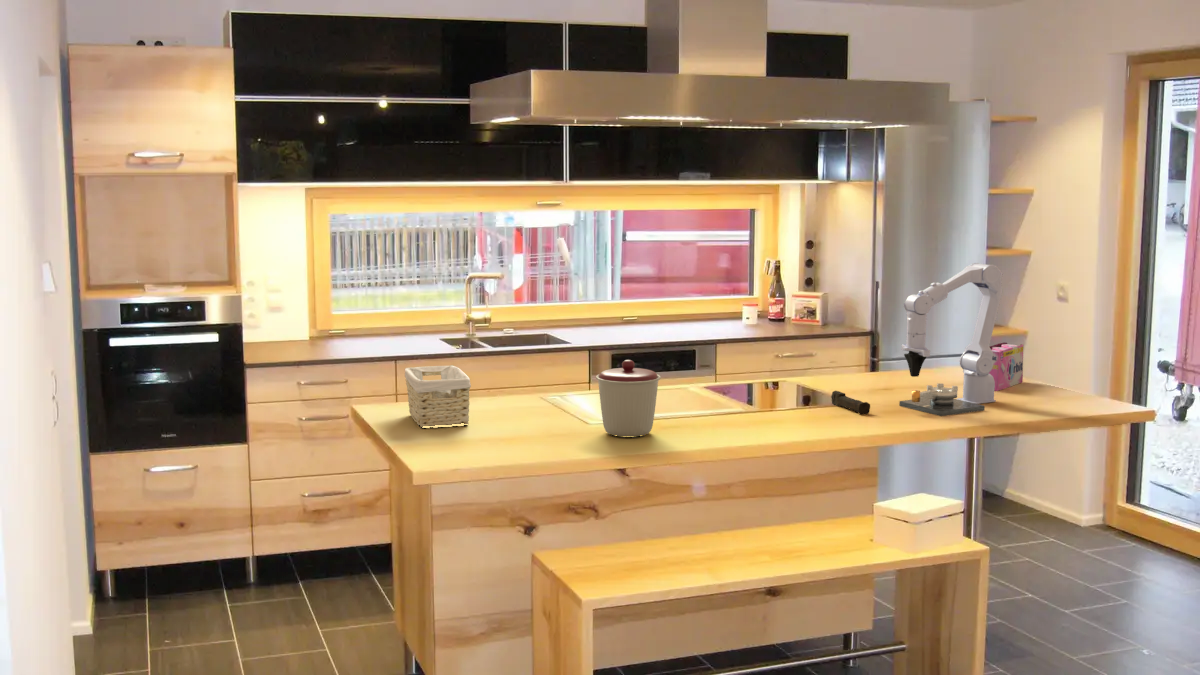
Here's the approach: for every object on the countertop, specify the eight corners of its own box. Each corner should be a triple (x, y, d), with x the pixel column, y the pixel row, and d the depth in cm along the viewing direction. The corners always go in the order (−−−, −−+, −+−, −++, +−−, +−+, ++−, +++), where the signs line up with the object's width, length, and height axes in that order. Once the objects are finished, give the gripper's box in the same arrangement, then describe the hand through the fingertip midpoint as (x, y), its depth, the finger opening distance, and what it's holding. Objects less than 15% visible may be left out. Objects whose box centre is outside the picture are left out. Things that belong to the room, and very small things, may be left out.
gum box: (1002, 379, 416) (1004, 341, 414) (1024, 382, 411) (1026, 343, 409) (974, 388, 398) (976, 349, 396) (997, 391, 393) (999, 351, 391)
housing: (942, 400, 377) (942, 389, 376) (984, 410, 361) (984, 399, 360) (899, 405, 368) (899, 394, 368) (940, 416, 353) (941, 404, 352)
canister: (656, 442, 318) (656, 366, 315) (590, 440, 321) (590, 364, 318) (663, 428, 336) (664, 355, 333) (601, 426, 339) (601, 354, 336)
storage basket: (473, 427, 338) (472, 377, 336) (416, 431, 333) (415, 380, 331) (457, 411, 360) (456, 364, 358) (404, 415, 355) (403, 367, 353)
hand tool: (870, 414, 356) (871, 399, 355) (859, 415, 355) (859, 400, 354) (839, 403, 374) (840, 389, 373) (828, 404, 373) (828, 389, 372)
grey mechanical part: (938, 395, 370) (939, 382, 370) (962, 399, 363) (963, 386, 363) (901, 402, 359) (901, 389, 359) (925, 406, 352) (926, 393, 351)
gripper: (893, 330, 371) (892, 372, 373) (915, 336, 357) (914, 380, 359) (913, 330, 373) (912, 372, 375) (936, 336, 359) (935, 379, 361)
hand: (914, 376), depth 367 cm, fingers closed
